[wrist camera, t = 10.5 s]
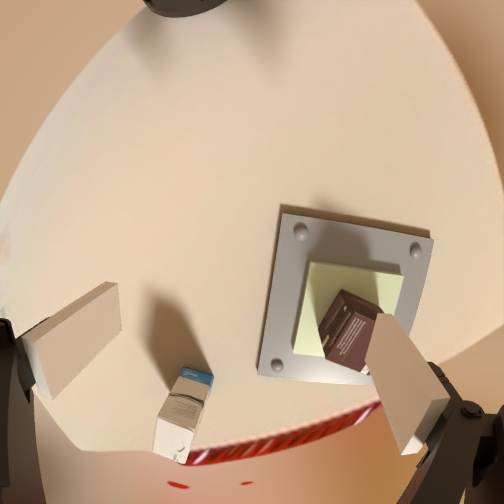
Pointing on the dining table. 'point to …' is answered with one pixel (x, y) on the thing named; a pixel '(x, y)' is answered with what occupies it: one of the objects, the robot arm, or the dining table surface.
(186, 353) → the dining table surface
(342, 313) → the box
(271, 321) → the board
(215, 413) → the dining table surface
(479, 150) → the dining table surface
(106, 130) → the dining table surface
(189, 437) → the ink box
